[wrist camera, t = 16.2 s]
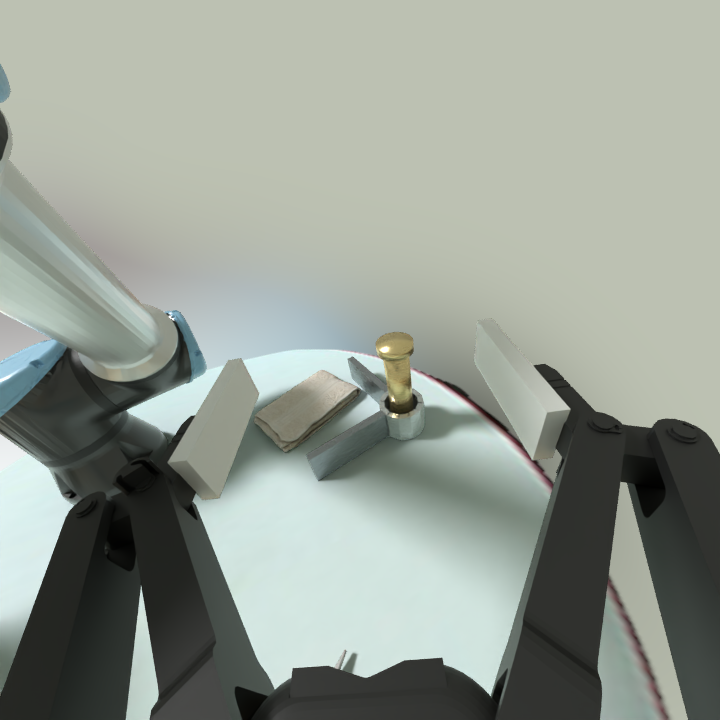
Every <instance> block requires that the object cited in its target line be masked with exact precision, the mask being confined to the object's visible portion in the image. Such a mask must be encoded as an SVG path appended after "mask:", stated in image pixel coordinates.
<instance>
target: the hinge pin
mask: <svg viewBox="0 0 720 720" xmlns="http://www.w3.org/2000/svg"><path fill="white" fill-rule="evenodd" d="M376 350H377V355H378V356H379V357H380V358H381V359H383V361H384V368H385V375H386V381H387V388H388V394H389V401H390V407H391V413H394V414H398V415H400V414H407V413H409V412H411V411H413V410H414V408H413V396H412V385H411V373H410V361H409V356H411V355H412V353H413V351H414V346H413V338H412V337H411V336H410V335H408V334H406V333H402V332H393V333H388V334H385V335H383V336H381V337H380V338H379V339H378V340H377V341H376Z"/></svg>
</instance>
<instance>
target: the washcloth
mask: <svg viewBox="0 0 720 720" xmlns="http://www.w3.org/2000/svg"><path fill="white" fill-rule="evenodd" d="M360 391H361V389H360V388H358V387H357V386H355V385H352V384H350V383H348V382H344V381H342V380H339V379H338V377H336V376H334V375H332V374H330V373H328V372H327V371H325V370H320V371H318V372H317V373H315V374H313V375H312V376H311V377H309V378H308V379H306V380H305V381H303V382H302V383H300V384H298V385H297V386H295V387H294V388H292V389H291V390H290V391H287V392H286V393H285V394H283V395H282V396H280V397H279V398H278V399H276V400H275V401H273V402H272V403H271V404H269V405H267V406H266V407H264V408H262V409H261V410H260V411H258V412H257V413H256V414H255V415H254V416H255V419H254V424H257V425H259V426H260V428H261V429H262V431H263V432H264V433H265V434H266V435H268V436H269V437H270V438H271V439H272V440H273V441H274V442H275V443H276V445H277V446H278V447H279V448H280V449H282V450H283V451H284V452H287V451H289V450H290V449H292V448H295V447H297V446H298V445H299V444H301V443H302V442H304V441H305V440H307V439H308V438H309V437H310V436H312V435H313V434H314V433H315V432H316V431H318V430H319V429H320V428H321V427H322V426H324V425H325V424H326V423H327V422H329V421H330V420H331V419H332V418H333V417H334V416H336V415H337V414H338V413H339V412H340V411H341V410H342V409H344V408H345V407H346V406H348V405H349V404H350V403H351V402H353V401H354V400H355V399H356V398H357V397H358V396H359V394H360Z"/></svg>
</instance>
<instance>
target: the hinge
mask: <svg viewBox="0 0 720 720" xmlns="http://www.w3.org/2000/svg"><path fill="white" fill-rule="evenodd" d="M348 363H349V367H350V371H351V375H352V378H353V379H354V380H355V381H356V382H357V383H358V384H359V385H360V386H361V387H362V388H363V389H364V390H365V391H366V392H367V393H368V394H369V395H370V396H371V397H372V398H373V399H374V400H375V401H376V402H377V403H378V404H379V405H380V411H379V412H377V413H375V414H374V415H372V416H370V417H369V418H367V419H365V420H364V421H362V422H360V423H359V424H357V425H355V426H353V427H352V428H350V429H348V430H347V431H345V432H343V433H342V434H340V435H338V436H337V437H335V438H333V439H332V440H330V441H328V442H326V443H325V444H323V445H321V446H320V447H318V448H316V449H315V450H313V451H311V452H310V453H308V454H306V457H307V459H308V461H309V463H310V465H311V468H312V470H313V472H314V474H315V476H316V478H317V480H318V481H319V480H321V479H322V478H324V477H325V476H327V475H328V474H330V473H332V472H333V471H335V470H336V469H338V468H339V467H341V466H343V465H344V464H346V463H347V462H349V461H350V460H352V459H354V458H355V457H357V456H358V455H360V454H361V453H363V452H365V451H366V450H368V449H369V448H371V447H372V446H374V445H376V444H377V443H379V442H380V441H382V440H383V439H385V438H387V437H388V436H390V437H392V438H395V439H398V440H407V439H413V438H415V437H416V436H418V435H419V434H421V433H422V430H423V428H424V426H425V413H424V402H423V398H422V395H421V394H420V393H418V392H417V391H416V390H415V389H412V396H413V408H414V410H413V411H411V412H409V413H407V414H400V415H398V414H394V413H391V407H390V401H389V394H388V388H387V385H386V384H384V383H383V382H382V381H381V380H380V379H379V378H377V377H376V376H375V375H374V374H373V373H371V372H370V371H369V370H368V369H367V368H366V367H364V366H363V365H362V364H361V363H360V362H359V361H357V360H356V359H355V358H354V357H351V358H349V359H348Z"/></svg>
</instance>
